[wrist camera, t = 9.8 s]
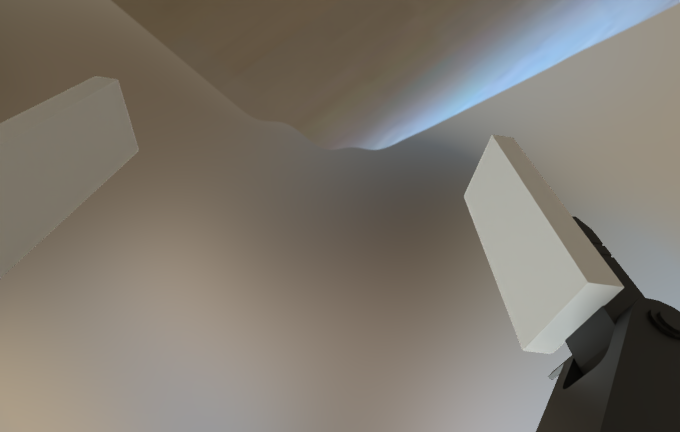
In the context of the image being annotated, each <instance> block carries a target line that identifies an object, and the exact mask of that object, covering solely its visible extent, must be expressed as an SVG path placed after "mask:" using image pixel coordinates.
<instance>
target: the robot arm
mask: <svg viewBox="0 0 680 432" xmlns="http://www.w3.org/2000/svg"><path fill="white" fill-rule="evenodd" d="M138 151H139V149H138V145H137V142H136V138H135V135H134V132H133V128H132V125H131V122H130V118H129V115H128V111H127V108H126V105H125V101H124V98H123V95H122V91H121V88H120V85H119V81H118V79H112V78H105V77H99V76H94V77H92V78H90V79H88V80H86V81H84V82H82V83H80V84H78V85H76V86H74V87H72V88H70V89H68V90H66V91H64V92H62V93H60V94H58V95H56V96H54V97H52V98H50V99H48V100H46V101H44V102H42V103H40V104H38V105H36V106H34V107H32V108H30V109H28V110H26V111H24V112H22V113H20V114H18V115H16V116H14V117H12V118H10V119H8V120H6V121H4V122H2V123H0V279H1V278H2V277H3V276H4V275H5V274H6V273H7V272H8V271H9V270H10V269H11V268H13V267H14V266H15V265H16V264H17V263H18V262H19V261H20V260H21V259H22V258H23V257H25V256H26V255H27V254H28V253H29V252H30V251H31V250H32V249H33V248H34V247H35V246H36V245H38V244H39V243H40V242H41V241H42V240H43V239H44V238H45V237H46V236H47V235H48V234H49V233H51V232H52V231H53V230H54V229H55V228H56V227H57V226H58V225H59V224H60V223H61V222H62V221H64V219H66V218H67V217H68V216H69V215H70V214H71V213H72V212H73V211H74V210H75V209H76V208H78V207H79V206H80V205H81V204H82V203H83V202H84V201H85V200H86V199H87V198H88V197H89V196H91V195H92V194H93V193H94V192H95V191H96V190H97V189H98V188H99V187H100V186H101V185H102V184H103V183H105V182H106V181H107V180H108V179H109V178H110V177H111V176H112V175H113V174H114V173H115V172H117V171H118V169H120V168H121V167H122V166H123V165H124V164H125V163H126V162H127V161H128V160H129V159H131V158H132V157H133V156H134V155H135V154H136V153H137V152H138ZM464 198H465V201H466V204H467V206H468V209H469V212H470V214H471V217H472V219H473V222H474V225H475V227H476V230H477V232H478V235H479V238H480V240H481V243H482V246H483V248H484V251H485V253H486V256H487V259H488V261H489V264H490V266H491V269H492V272H493V274H494V277H495V279H496V282H497V285H498V287H499V290H500V293H501V295H502V298H503V301H504V303H505V305H506V308H507V311H508V313H509V316H510V319H511V321H512V324H513V327H514V329H515V332H516V334H517V337H518V340H519V342H520V345H521V348H522V350H523V351H530V352H538V353H546V354H552V353H554V352H555V351H556V350H557V349H558V348H559V347H560V346H561V345H562V344H563V343H564V342H566V343H567V345H568V347H569V349H570V351H571V353H572V356H571V357H569V358H568V359H567V360H566V361H565V362H563V363H562V364H561V365H560V366H559V367H558V368H556V369H555V370H554V371H553V372H552V373H551V374H550V375H549V376H548V377H549V378H550V379H551V380H553V379H554V378H555V377H556V376H558V375H559V377H558V379H557V382H556V384H555V387H554V389H553V392H552V394H551V396H550V399H549V401H548V404H547V406H546V409H545V411H544V414H543V416H542V418H541V421H540V423H539V426H538V428H537V431H536V432H680V312H679V311H678V310H676V309H675V308H673V307H671V306H669V305H667V304H664V303H662V302H660V301H656V300H653V299H647V298H645V297H644V296H643V294H642V293H641V292H640V291H639V289H638V288H637V287H636V285H635V284H634V283H633V282H632V280H631V279H630V278H629V276H628V275H627V274H626V273H625V271H624V270H623V269H622V268H621V266H620V265H619V264H618V263H617V261H616V260H615V259H614V258H612V257H611V254H610V252H609V251H608V250H607V248H606V247H605V246H602V242H601V241H600V239H599V238H598V237H597V236H596V234H595V233H594V232H593V231H592V229H590V228H589V227H588V226H587V225H585V224H584V223H583V222H581V221H580V220H579V219H578V218H577V217H572V216H571V215H570V214H569V212H568V211H567V210H566V208H565V207H564V205H563V204H562V203H561V202H560V200H559V199H558V197H557V196H556V195H555V193H554V192H553V191H552V189H551V188H550V187H549V185H548V184H547V183H546V181H545V180H544V179H543V177H542V176H541V175H540V173H539V172H538V171H537V169H536V168H535V167H534V165H533V164H532V163H531V161H530V160H529V159H528V157H527V156H526V155H525V153H524V152H523V151H522V149H521V148H520V147H519V145H518V144H517V142H516V141H515V140H514V138H511V137H504V136H498V135H492V136H491V138H490V140H489V142H488V145H487V147H486V149H485V151H484V153H483V155H482V158H481V160H480V162H479V164H478V166H477V168H476V171H475V173H474V175H473V177H472V179H471V182H470V184H469V186H468V188H467V190H466V192H465V195H464Z"/></svg>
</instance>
